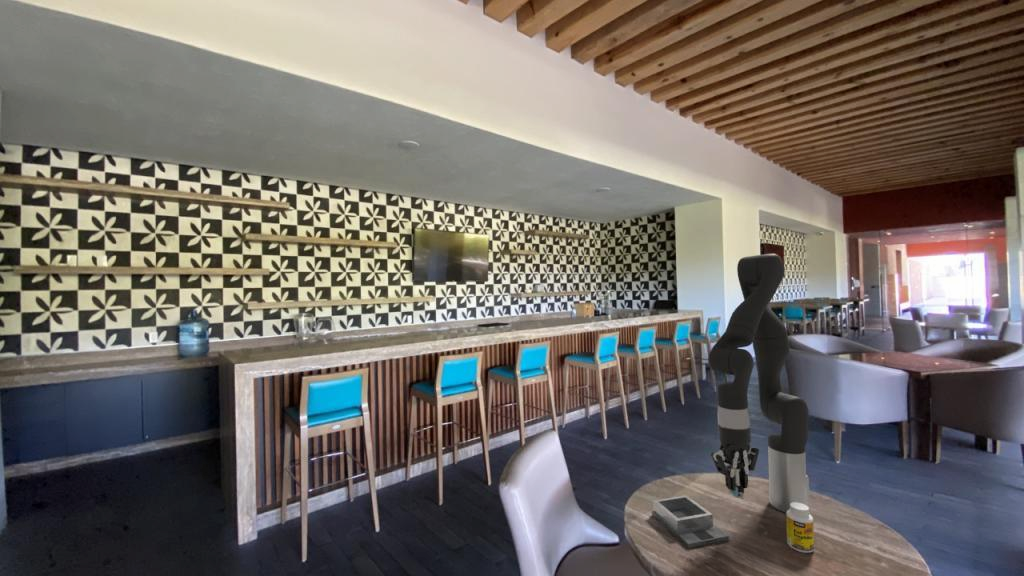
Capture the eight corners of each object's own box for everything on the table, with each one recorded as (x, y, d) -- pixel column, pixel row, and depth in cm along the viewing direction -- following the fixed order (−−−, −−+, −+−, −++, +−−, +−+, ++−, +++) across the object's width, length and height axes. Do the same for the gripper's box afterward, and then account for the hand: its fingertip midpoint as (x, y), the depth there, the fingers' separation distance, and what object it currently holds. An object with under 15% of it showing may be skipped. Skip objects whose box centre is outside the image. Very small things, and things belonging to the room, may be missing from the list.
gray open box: (687, 509, 121) (687, 494, 121) (728, 540, 105) (728, 524, 105) (651, 515, 118) (651, 500, 118) (688, 548, 102) (688, 531, 103)
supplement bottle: (791, 552, 100) (790, 510, 101) (783, 538, 106) (782, 499, 106) (818, 555, 99) (816, 513, 99) (809, 542, 104) (808, 502, 104)
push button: (753, 501, 105) (751, 462, 105) (732, 501, 105) (729, 462, 105) (741, 488, 111) (738, 451, 111) (720, 488, 112) (718, 452, 112)
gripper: (744, 415, 114) (747, 477, 114) (701, 422, 110) (704, 486, 110) (767, 423, 107) (770, 490, 106) (722, 431, 103) (725, 500, 103)
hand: (737, 487), depth 108 cm, fingers closed on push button, 3 cm apart
